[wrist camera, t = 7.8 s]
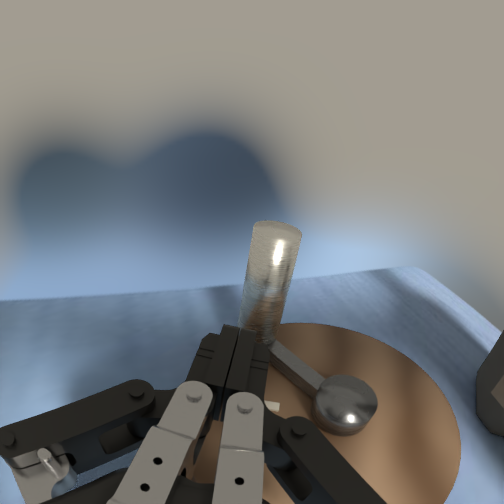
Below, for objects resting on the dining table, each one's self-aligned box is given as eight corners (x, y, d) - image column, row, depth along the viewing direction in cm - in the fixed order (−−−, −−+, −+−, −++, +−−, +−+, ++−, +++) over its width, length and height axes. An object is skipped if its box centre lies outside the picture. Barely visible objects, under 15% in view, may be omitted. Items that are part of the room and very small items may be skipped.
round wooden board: (417, 350, 28) (425, 337, 27) (470, 535, 10) (487, 526, 9) (216, 317, 29) (218, 302, 28) (140, 532, 11) (135, 525, 10)
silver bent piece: (378, 413, 18) (442, 304, 14) (344, 447, 16) (416, 334, 12) (261, 322, 26) (283, 217, 22) (221, 338, 23) (237, 224, 19)
